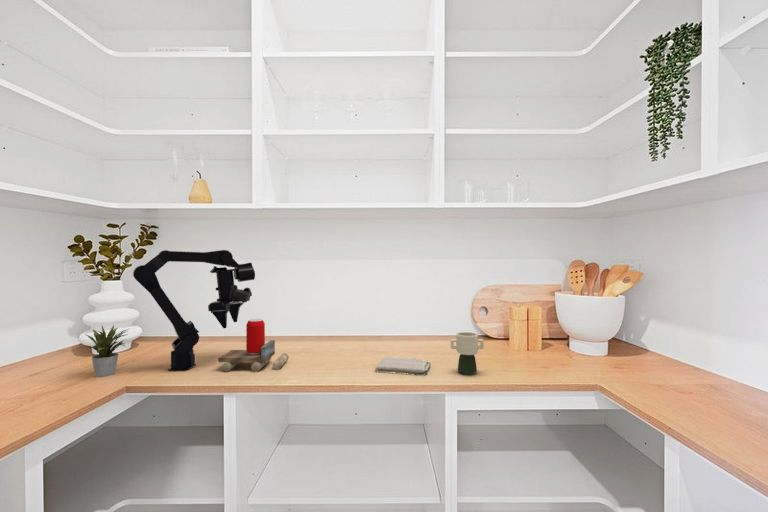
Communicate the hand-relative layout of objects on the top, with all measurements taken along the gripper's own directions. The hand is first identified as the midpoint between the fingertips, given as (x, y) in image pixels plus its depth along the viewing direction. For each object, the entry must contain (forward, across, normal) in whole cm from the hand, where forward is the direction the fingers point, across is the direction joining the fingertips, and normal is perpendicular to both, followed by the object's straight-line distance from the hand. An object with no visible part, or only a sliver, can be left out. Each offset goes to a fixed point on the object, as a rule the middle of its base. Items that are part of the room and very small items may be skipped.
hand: (230, 325), depth 138 cm
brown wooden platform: (+14, -8, -8) cm, 18 cm away
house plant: (+10, -18, +34) cm, 40 cm away
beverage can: (+10, -7, -11) cm, 17 cm away
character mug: (+20, -15, -84) cm, 88 cm away
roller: (+15, -6, -20) cm, 25 cm away
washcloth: (+19, -10, -63) cm, 67 cm away
